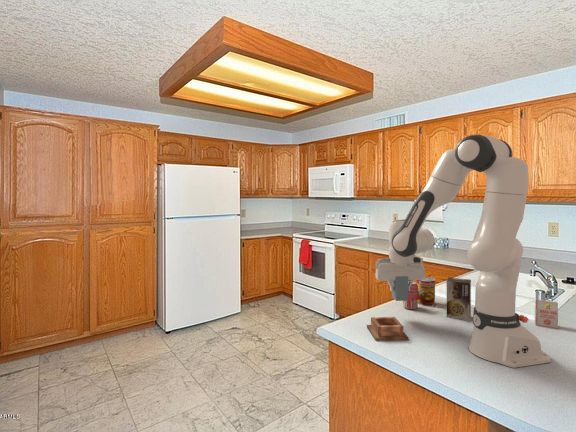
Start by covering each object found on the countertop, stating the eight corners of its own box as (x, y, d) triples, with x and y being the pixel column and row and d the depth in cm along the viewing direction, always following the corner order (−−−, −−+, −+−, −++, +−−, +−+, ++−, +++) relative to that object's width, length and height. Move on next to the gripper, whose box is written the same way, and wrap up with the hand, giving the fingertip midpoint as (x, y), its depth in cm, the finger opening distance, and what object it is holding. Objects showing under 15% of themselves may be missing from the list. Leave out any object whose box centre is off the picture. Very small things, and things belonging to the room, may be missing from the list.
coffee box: (471, 316, 138) (471, 279, 138) (470, 321, 133) (470, 282, 132) (447, 312, 143) (448, 276, 142) (445, 317, 138) (446, 280, 137)
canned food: (419, 305, 153) (419, 280, 152) (415, 300, 161) (415, 276, 160) (436, 306, 152) (437, 281, 151) (432, 301, 159) (432, 277, 159)
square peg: (403, 297, 138) (403, 274, 138) (408, 300, 134) (408, 276, 133) (392, 297, 138) (392, 274, 138) (396, 300, 133) (396, 277, 133)
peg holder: (396, 326, 129) (396, 315, 128) (408, 339, 117) (408, 327, 116) (366, 327, 129) (366, 316, 128) (375, 340, 117) (375, 328, 116)
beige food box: (534, 322, 131) (535, 298, 130) (555, 325, 128) (556, 301, 127) (535, 325, 128) (536, 300, 127) (557, 329, 124) (558, 303, 124)
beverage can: (405, 304, 154) (406, 280, 154) (419, 307, 150) (419, 282, 150) (401, 308, 150) (401, 282, 149) (415, 311, 146) (415, 285, 145)
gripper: (377, 260, 132) (377, 293, 132) (426, 258, 132) (427, 291, 133) (373, 257, 138) (373, 289, 139) (420, 256, 138) (420, 287, 139)
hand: (400, 290), depth 136 cm, fingers closed on square peg, 5 cm apart
